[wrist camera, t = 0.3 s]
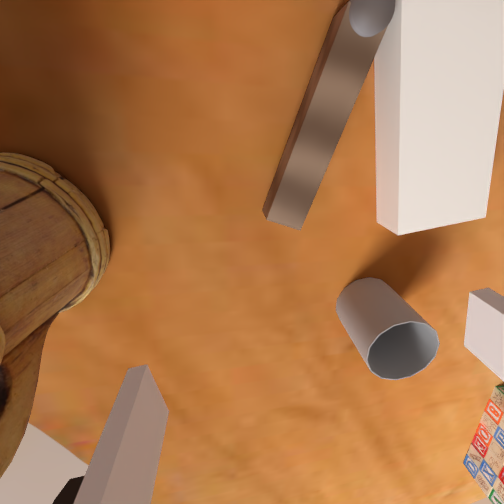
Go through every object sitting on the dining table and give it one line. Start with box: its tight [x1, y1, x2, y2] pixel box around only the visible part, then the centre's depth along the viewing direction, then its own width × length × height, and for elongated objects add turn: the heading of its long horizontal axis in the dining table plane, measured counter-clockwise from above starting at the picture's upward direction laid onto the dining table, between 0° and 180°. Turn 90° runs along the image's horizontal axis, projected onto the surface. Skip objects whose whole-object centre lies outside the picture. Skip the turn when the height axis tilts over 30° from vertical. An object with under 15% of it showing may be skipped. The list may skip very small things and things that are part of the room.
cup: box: [336, 277, 440, 380], centre depth 38 cm, size 8×8×10 cm
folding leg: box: [262, 0, 395, 230], centre depth 30 cm, size 22×4×5 cm, turn 161°
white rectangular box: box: [374, 0, 504, 235], centre depth 31 cm, size 22×10×5 cm, turn 11°
